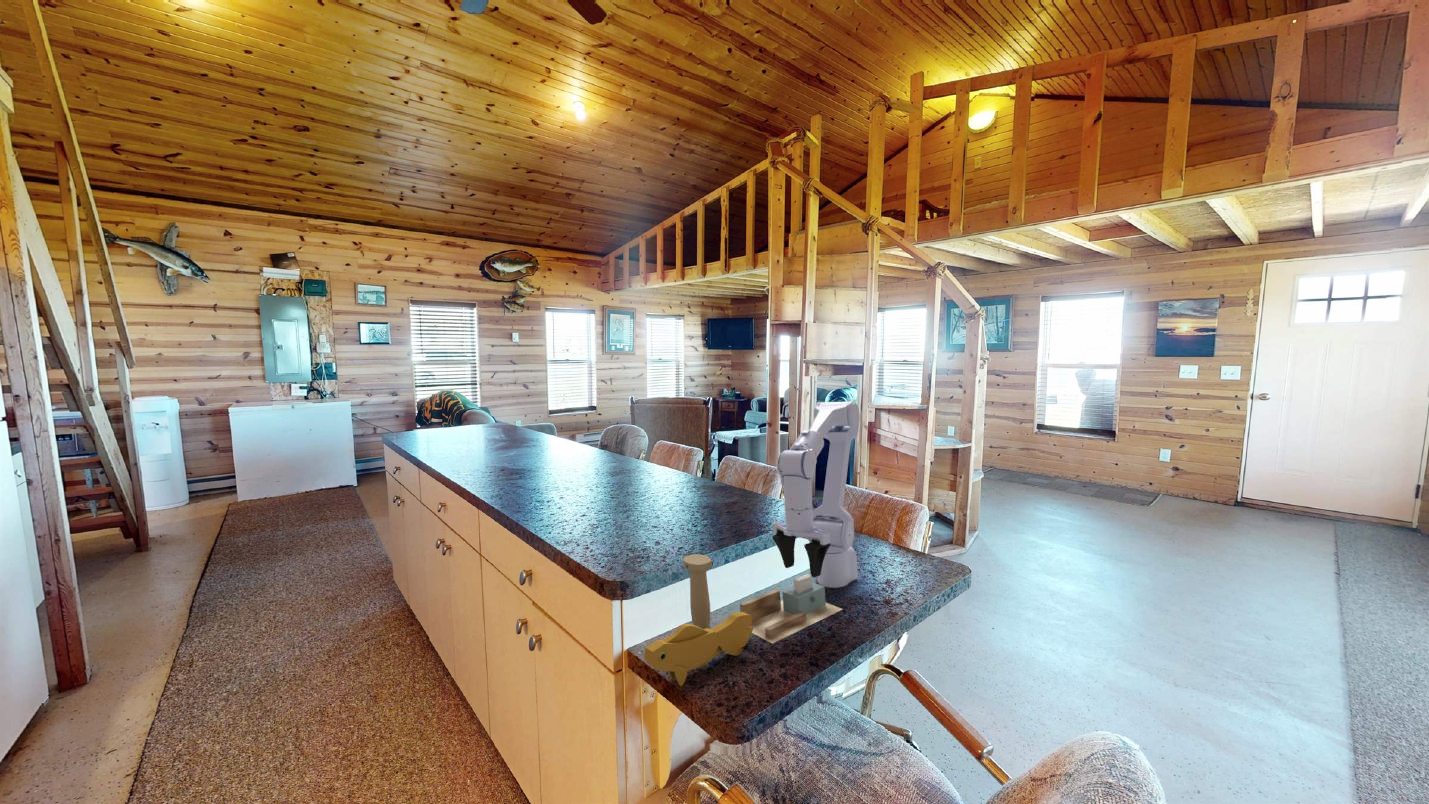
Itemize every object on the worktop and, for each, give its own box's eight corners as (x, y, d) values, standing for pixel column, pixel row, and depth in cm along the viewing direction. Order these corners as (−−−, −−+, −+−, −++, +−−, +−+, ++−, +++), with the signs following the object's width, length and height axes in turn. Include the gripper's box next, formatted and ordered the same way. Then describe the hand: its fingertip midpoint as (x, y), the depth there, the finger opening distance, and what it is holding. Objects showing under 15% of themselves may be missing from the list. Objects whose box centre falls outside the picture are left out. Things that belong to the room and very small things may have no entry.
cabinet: (809, 598, 114) (808, 569, 113) (828, 606, 109) (826, 575, 109) (783, 610, 109) (781, 580, 109) (802, 618, 105) (800, 587, 104)
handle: (700, 643, 99) (695, 566, 99) (683, 631, 105) (678, 558, 104) (721, 635, 102) (716, 560, 101) (703, 624, 107) (698, 552, 107)
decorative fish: (648, 694, 82) (656, 628, 83) (638, 685, 84) (646, 622, 85) (751, 671, 96) (757, 615, 97) (740, 664, 98) (746, 610, 99)
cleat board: (800, 596, 117) (799, 575, 117) (843, 613, 108) (841, 590, 108) (731, 626, 105) (730, 602, 105) (772, 648, 96) (771, 622, 96)
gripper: (761, 505, 112) (764, 567, 113) (811, 516, 100) (815, 586, 101) (784, 499, 116) (788, 559, 117) (835, 509, 105) (839, 576, 105)
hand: (802, 571), depth 109 cm, fingers open, 7 cm apart
